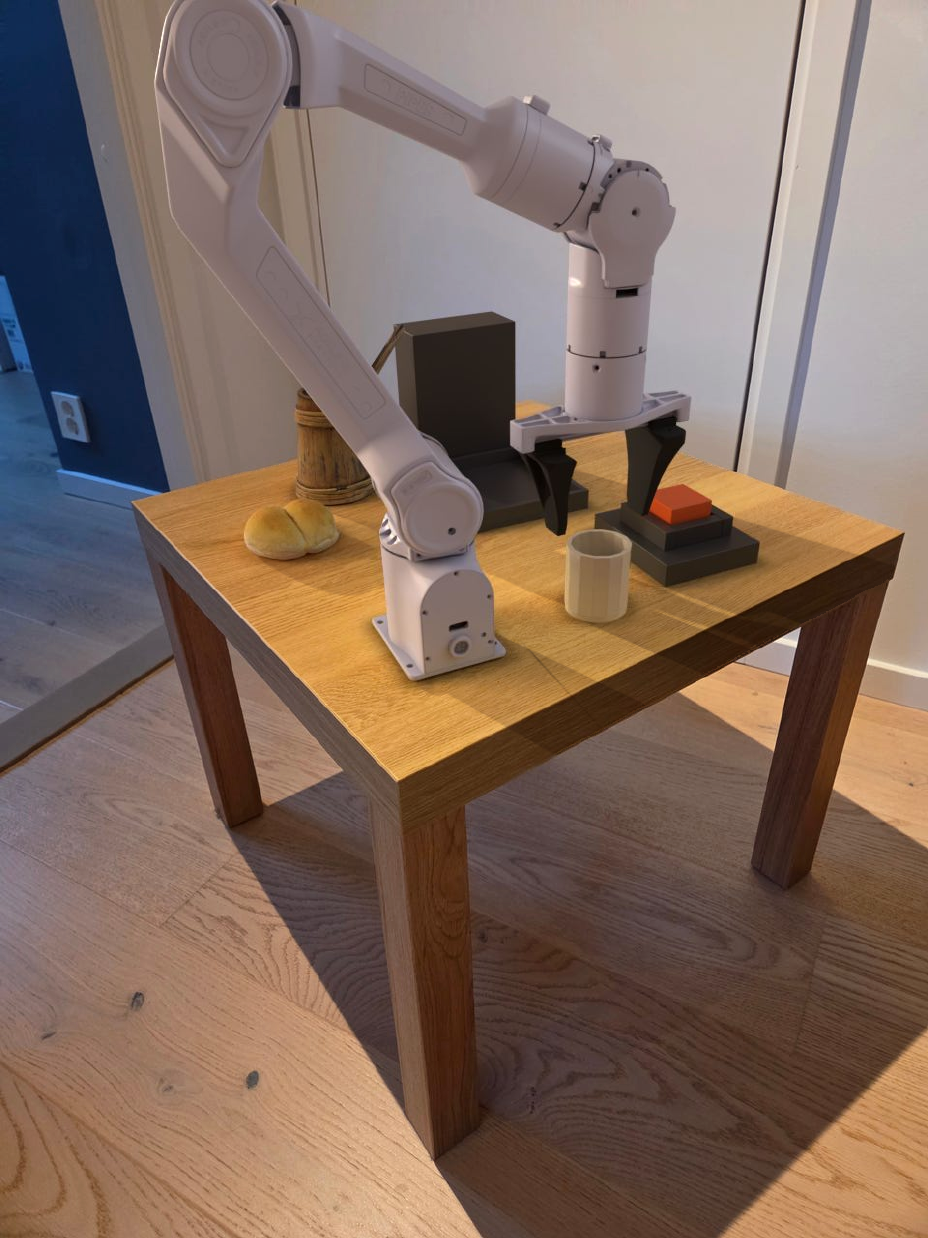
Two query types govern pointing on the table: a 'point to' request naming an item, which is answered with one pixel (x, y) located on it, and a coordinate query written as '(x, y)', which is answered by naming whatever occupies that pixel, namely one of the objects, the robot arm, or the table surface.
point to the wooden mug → (331, 450)
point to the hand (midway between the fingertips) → (597, 520)
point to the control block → (681, 544)
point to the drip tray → (509, 488)
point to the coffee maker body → (459, 380)
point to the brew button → (679, 504)
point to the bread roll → (291, 530)
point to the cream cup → (597, 575)
